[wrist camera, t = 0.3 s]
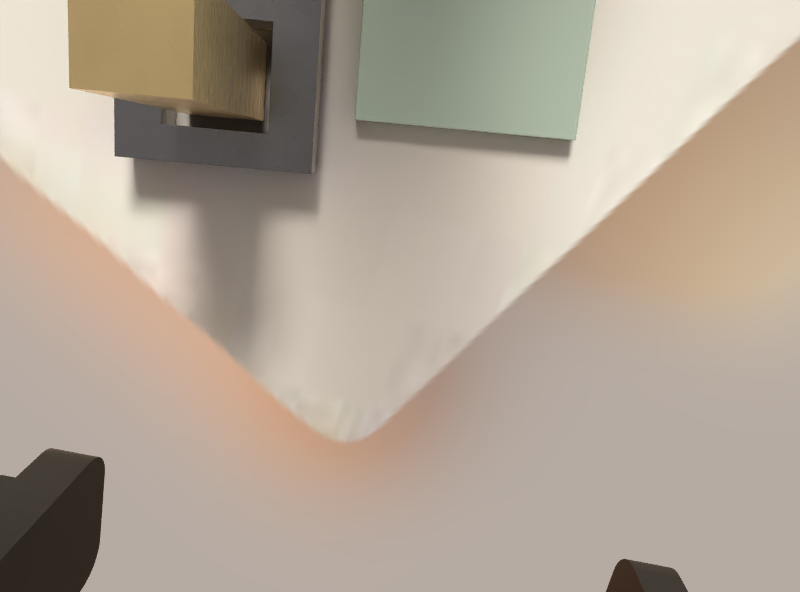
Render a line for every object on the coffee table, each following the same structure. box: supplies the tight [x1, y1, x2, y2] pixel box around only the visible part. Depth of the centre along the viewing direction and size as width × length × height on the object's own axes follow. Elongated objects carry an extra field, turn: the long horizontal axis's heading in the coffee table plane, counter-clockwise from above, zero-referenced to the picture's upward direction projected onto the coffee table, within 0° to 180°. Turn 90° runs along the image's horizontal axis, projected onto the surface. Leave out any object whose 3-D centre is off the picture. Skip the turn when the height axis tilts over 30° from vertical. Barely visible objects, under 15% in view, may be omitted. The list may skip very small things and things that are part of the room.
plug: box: [68, 0, 267, 121], centre depth 28 cm, size 4×4×14 cm
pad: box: [355, 0, 596, 140], centre depth 34 cm, size 12×12×1 cm
